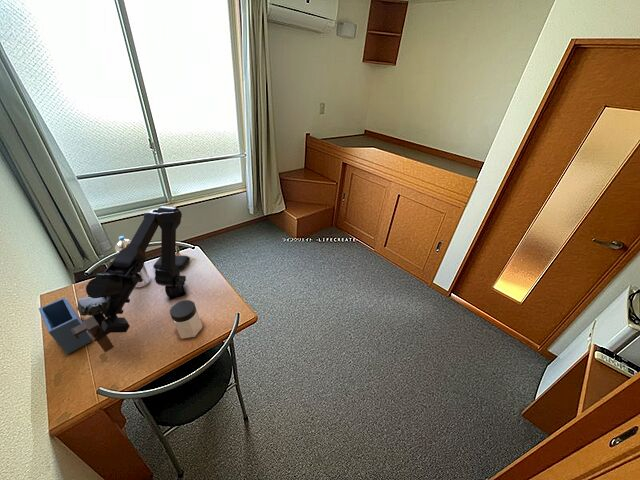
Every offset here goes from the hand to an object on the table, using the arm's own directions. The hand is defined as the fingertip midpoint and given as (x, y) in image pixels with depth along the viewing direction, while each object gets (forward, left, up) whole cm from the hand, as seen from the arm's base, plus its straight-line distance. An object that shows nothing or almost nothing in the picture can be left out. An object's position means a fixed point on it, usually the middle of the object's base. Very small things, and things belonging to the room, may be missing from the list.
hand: (93, 335), depth 80 cm
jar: (-26, +2, -11) cm, 28 cm away
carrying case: (-24, -41, -11) cm, 49 cm away
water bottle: (-11, -34, -11) cm, 37 cm away
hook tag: (0, 0, -7) cm, 7 cm away
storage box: (+10, -14, -11) cm, 21 cm away
